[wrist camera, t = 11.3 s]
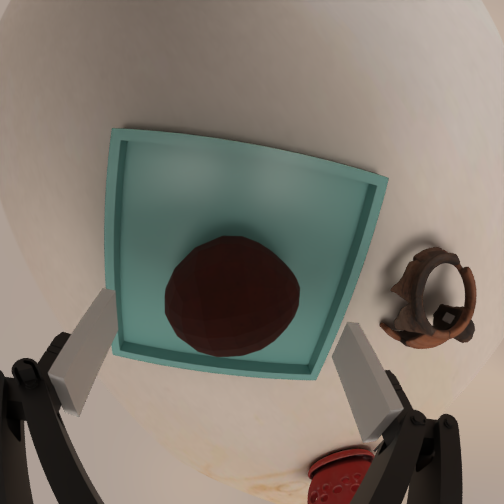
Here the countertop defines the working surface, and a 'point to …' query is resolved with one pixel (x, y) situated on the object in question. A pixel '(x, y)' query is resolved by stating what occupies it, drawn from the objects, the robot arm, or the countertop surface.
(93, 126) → the countertop surface
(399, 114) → the countertop surface
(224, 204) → the teal tray
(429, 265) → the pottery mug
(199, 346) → the dark brown oval
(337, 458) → the plant pot
